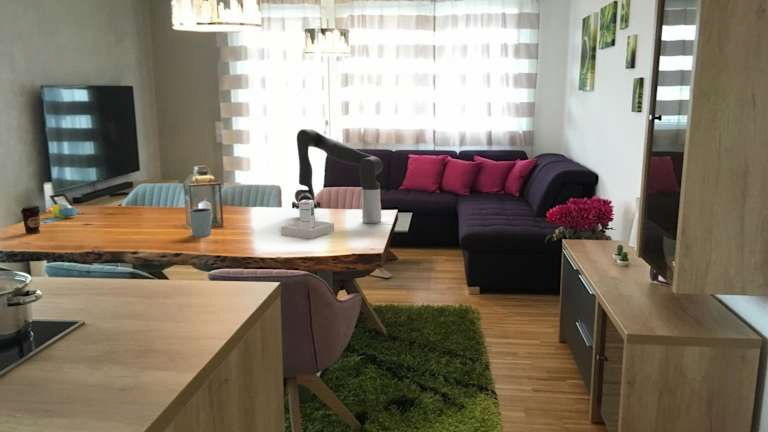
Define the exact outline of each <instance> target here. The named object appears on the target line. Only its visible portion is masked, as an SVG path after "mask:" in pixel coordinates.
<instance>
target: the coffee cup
mask: <svg viewBox="0 0 768 432" xmlns="http://www.w3.org/2000/svg"><path fill="white" fill-rule="evenodd" d="M40 212H41V209H40V206H38V205H29V206H28V205H27V206H24V207H22V209H21V210H20V214H21V217H22V221H23V227H24V231H25V234H27V235H35V234H38V233H41V230H40V227H41V223H40V222H41V216H40Z"/></svg>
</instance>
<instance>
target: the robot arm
mask: <svg viewBox="0 0 768 432" xmlns="http://www.w3.org/2000/svg"><path fill="white" fill-rule="evenodd" d="M296 145H297V154H298V165H299V168H298V170H299V174H298V184H299V185H300V186H304V187H306V188H307V189H297V190H296V191H295V194H294V199H295V201H292V203H291V208H292V209H296V210H299V202H301V201H302V200H314V210H316V209H317V208H321V201H320V200H316V201H315V199H316V197H315V192H314V187H313V166H312V164H311V161H310V158H309V148H310V147H311V148H312V147H313V148H315V149H318V150H321V151H323V152H324V153H326V155H327V156H328V157H330V158H332V159H333V160H336V161H338V162H340V163H345V164H348V165H353V166H358V167H359V168H358V170H359V182H360V185H361V201H362V202H361V203H362V205H361V206H362V207H361V208H362V209H361V210H362V211H361V213H362V223H363V224H364V223H365V224H377V223H380V222H381V221H382V203H381V184H380V182H378V181H377V177H376V176H377V175H378V174H380V173H381V172H382V171H383V169H384V164H383V162H382V160H381V159H380V158H379V157H378V156H377V157H376V156H374V155H370V154H367V153H364V152H362V151H359V150H357V149H355V148H353V147H351V146H349V145H347V144H345V143H342V142H340V141H337V140H335V139H333V138H330V137H327V136H324V134H321V133H320V132H318V131H316V130H315V129H309V128H308V129H307V128H303V129H300V130H299V131H298V132H297V135H296Z"/></svg>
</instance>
